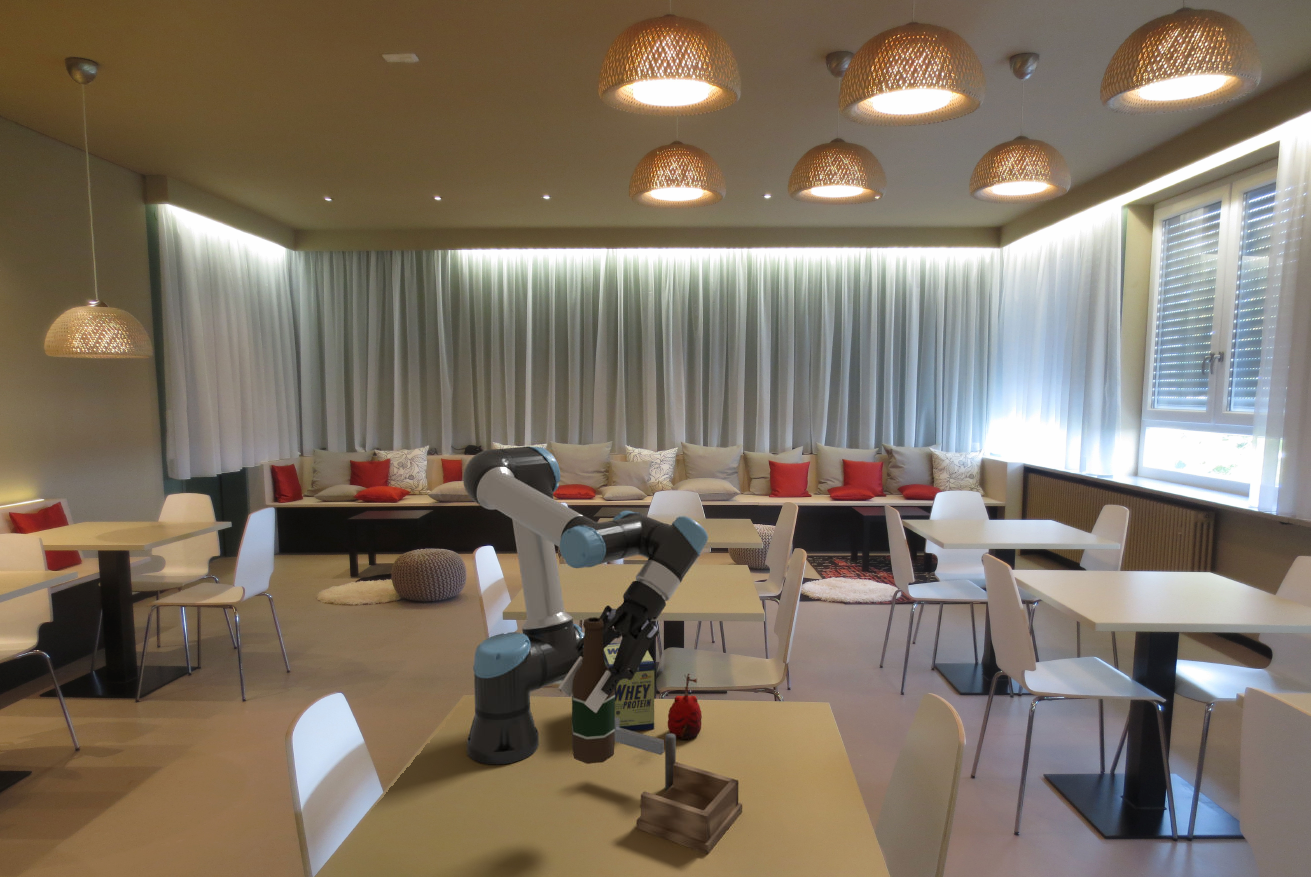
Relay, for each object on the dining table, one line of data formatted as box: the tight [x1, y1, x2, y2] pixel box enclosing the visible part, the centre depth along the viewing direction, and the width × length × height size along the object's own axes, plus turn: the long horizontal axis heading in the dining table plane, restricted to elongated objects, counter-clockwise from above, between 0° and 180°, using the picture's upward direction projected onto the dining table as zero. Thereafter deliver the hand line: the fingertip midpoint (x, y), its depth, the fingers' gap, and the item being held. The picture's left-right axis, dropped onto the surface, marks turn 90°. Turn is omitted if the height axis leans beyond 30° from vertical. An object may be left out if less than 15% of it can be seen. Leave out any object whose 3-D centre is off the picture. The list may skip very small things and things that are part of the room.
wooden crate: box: [635, 732, 743, 855], centre depth 129 cm, size 16×15×10 cm
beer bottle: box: [571, 617, 616, 765], centre depth 125 cm, size 8×8×24 cm
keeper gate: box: [615, 717, 665, 756], centre depth 141 cm, size 12×1×4 cm, turn 60°
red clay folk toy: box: [667, 673, 703, 740], centre depth 160 cm, size 8×7×15 cm
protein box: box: [604, 642, 655, 732], centre depth 169 cm, size 10×16×16 cm
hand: (576, 700), depth 123 cm, fingers closed on beer bottle, 7 cm apart
